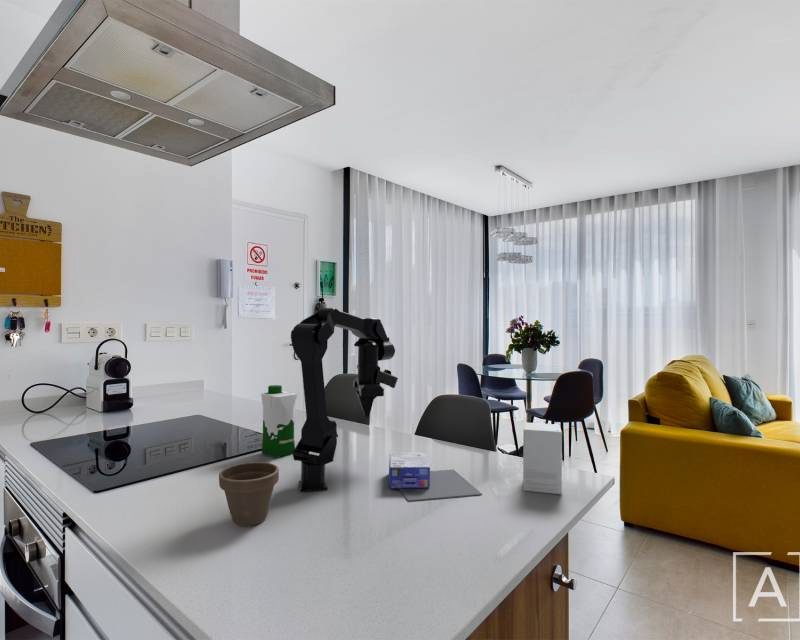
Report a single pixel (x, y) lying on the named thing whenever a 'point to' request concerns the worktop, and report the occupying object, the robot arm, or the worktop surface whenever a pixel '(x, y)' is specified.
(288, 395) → the milk carton
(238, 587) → the worktop surface
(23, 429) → the worktop surface
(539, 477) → the supplement box
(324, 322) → the robot arm
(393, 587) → the worktop surface
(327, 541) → the worktop surface
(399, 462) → the ink cartridge box
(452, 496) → the charcoal mat
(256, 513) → the flower pot
